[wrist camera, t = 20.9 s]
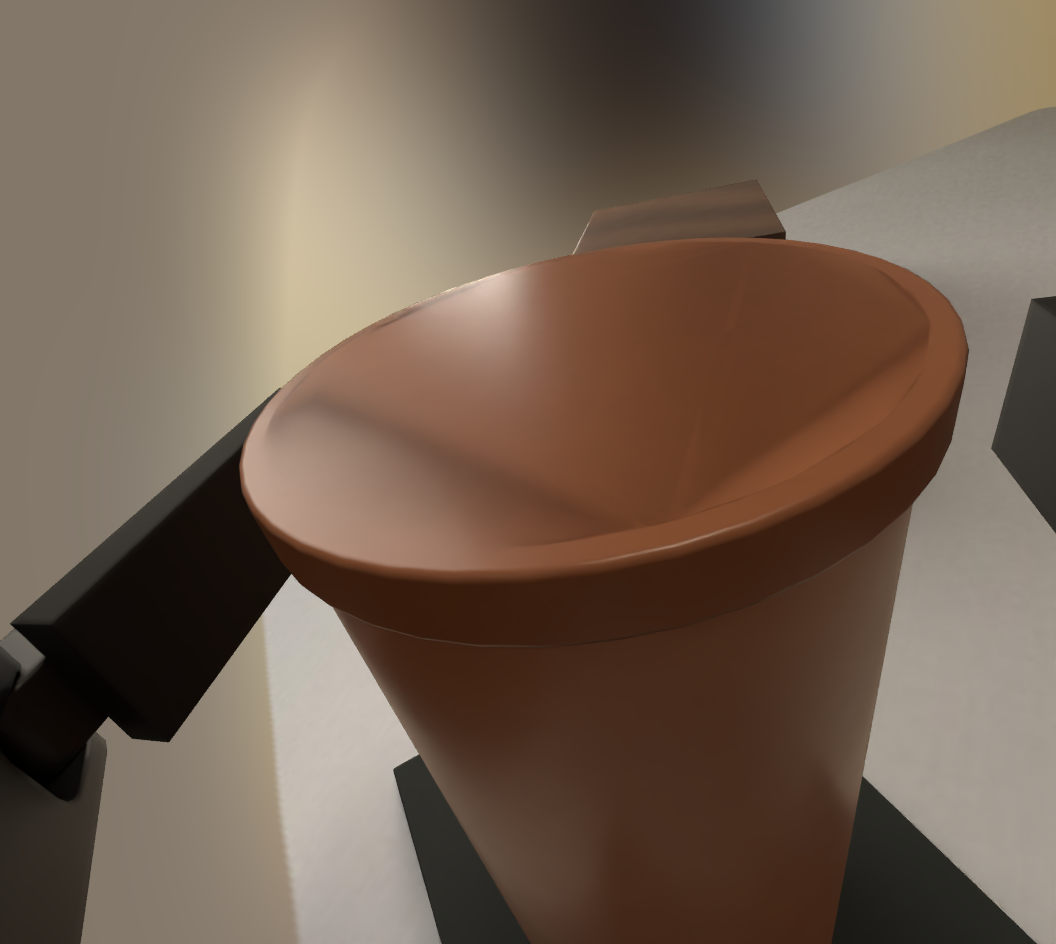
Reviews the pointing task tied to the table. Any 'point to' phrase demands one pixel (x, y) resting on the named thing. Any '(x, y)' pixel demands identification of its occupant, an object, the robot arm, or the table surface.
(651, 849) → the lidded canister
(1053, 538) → the table surface
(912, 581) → the table surface
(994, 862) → the table surface
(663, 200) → the cabinet
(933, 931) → the mat
